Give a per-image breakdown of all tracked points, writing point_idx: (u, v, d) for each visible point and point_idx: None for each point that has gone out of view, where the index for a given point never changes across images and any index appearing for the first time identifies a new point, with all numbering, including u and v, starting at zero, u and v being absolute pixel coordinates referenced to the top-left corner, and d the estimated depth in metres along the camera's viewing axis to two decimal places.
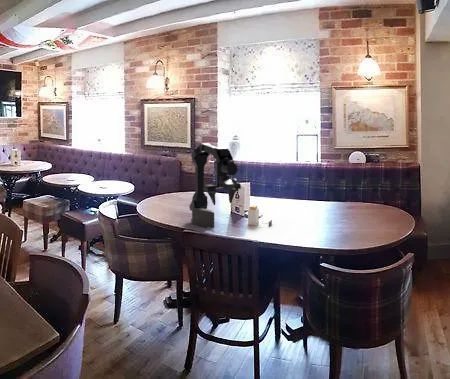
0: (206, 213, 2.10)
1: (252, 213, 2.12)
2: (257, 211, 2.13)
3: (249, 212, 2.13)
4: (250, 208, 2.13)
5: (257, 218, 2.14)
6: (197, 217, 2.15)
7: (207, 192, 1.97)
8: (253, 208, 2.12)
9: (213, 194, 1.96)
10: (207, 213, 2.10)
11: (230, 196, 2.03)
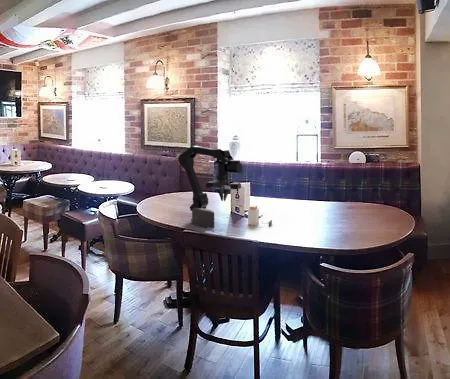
0: (206, 213, 2.10)
1: (252, 213, 2.12)
2: (257, 211, 2.13)
3: (249, 212, 2.13)
4: (250, 208, 2.13)
5: (257, 218, 2.14)
6: (197, 217, 2.15)
7: None
8: (253, 208, 2.12)
9: (218, 190, 2.15)
10: (207, 213, 2.10)
11: None
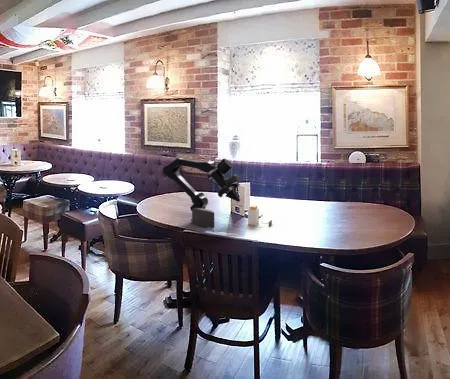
0: (206, 213, 2.10)
1: (252, 213, 2.12)
2: (257, 211, 2.13)
3: (249, 212, 2.13)
4: (250, 208, 2.13)
5: (257, 218, 2.14)
6: (197, 217, 2.15)
7: (228, 193, 2.14)
8: (253, 208, 2.12)
9: (233, 191, 2.15)
10: (207, 213, 2.10)
11: None
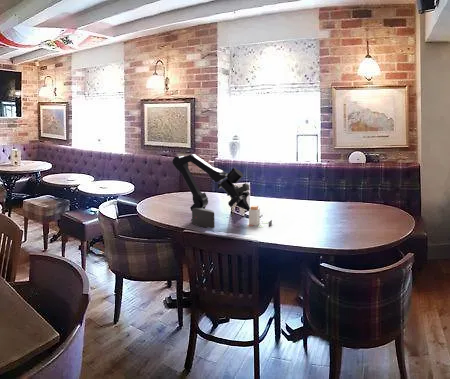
0: (206, 213, 2.10)
1: (254, 214, 2.12)
2: (258, 211, 2.13)
3: (250, 212, 2.12)
4: (251, 208, 2.13)
5: (258, 218, 2.14)
6: (197, 217, 2.15)
7: (238, 203, 2.13)
8: (254, 208, 2.12)
9: (244, 200, 2.13)
10: (207, 213, 2.10)
11: None
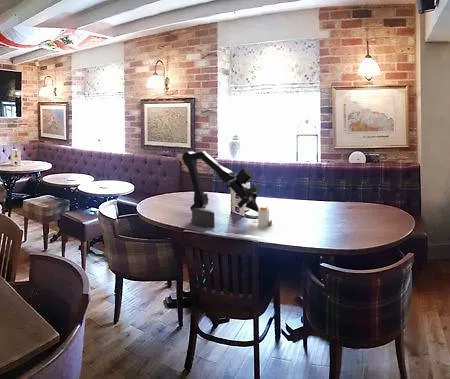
0: (206, 213, 2.10)
1: (263, 214, 2.10)
2: (267, 212, 2.11)
3: (259, 213, 2.10)
4: (260, 209, 2.10)
5: (267, 219, 2.12)
6: (197, 217, 2.15)
7: (247, 204, 2.11)
8: (264, 209, 2.10)
9: (253, 201, 2.11)
10: (207, 213, 2.10)
11: None
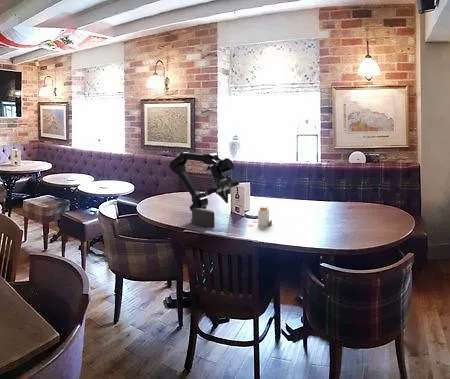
0: (206, 213, 2.10)
1: (263, 214, 2.10)
2: (267, 212, 2.11)
3: (259, 213, 2.10)
4: (260, 209, 2.10)
5: (267, 219, 2.12)
6: (197, 217, 2.15)
7: (216, 193, 2.15)
8: (264, 209, 2.10)
9: (221, 193, 2.14)
10: (207, 213, 2.10)
11: (225, 197, 2.16)
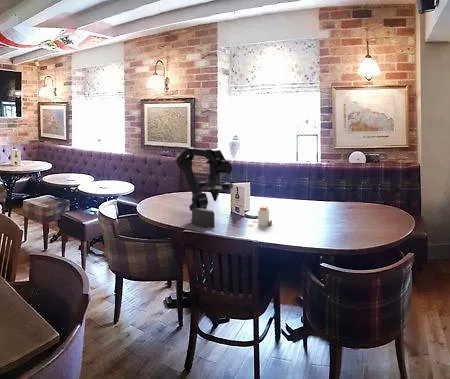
0: (206, 213, 2.10)
1: (263, 214, 2.10)
2: (267, 212, 2.11)
3: (259, 213, 2.10)
4: (260, 209, 2.10)
5: (267, 219, 2.12)
6: (197, 217, 2.15)
7: None
8: (264, 209, 2.10)
9: (210, 191, 2.15)
10: (207, 213, 2.09)
11: None
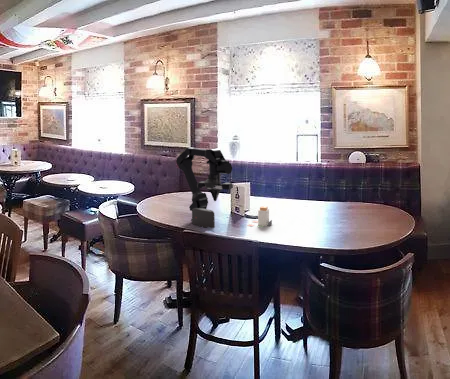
0: (206, 213, 2.10)
1: (263, 214, 2.10)
2: (267, 212, 2.11)
3: (259, 213, 2.10)
4: (260, 209, 2.10)
5: (267, 219, 2.12)
6: (197, 217, 2.15)
7: None
8: (264, 209, 2.10)
9: (210, 191, 2.15)
10: (207, 213, 2.09)
11: None
